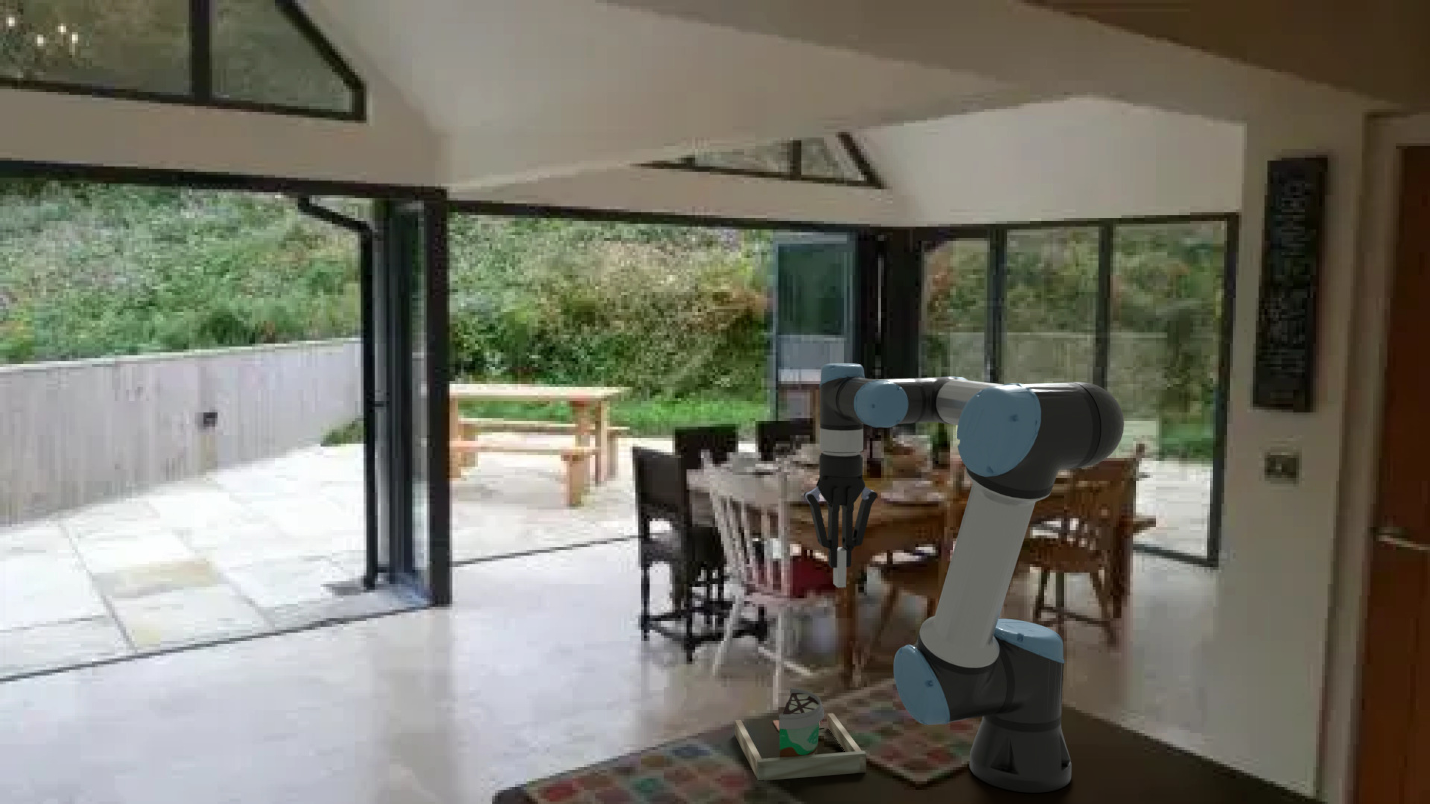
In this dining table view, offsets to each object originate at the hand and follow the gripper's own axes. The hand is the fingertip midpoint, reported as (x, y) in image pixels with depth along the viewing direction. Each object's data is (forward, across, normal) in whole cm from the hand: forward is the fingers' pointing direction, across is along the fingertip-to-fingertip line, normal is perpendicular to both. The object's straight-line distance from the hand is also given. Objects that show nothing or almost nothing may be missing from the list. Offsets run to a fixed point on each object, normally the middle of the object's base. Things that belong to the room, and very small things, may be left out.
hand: (839, 585), depth 193 cm
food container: (+23, +12, +21) cm, 33 cm away
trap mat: (+22, +9, +6) cm, 25 cm away
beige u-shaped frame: (+22, +12, +17) cm, 30 cm away
